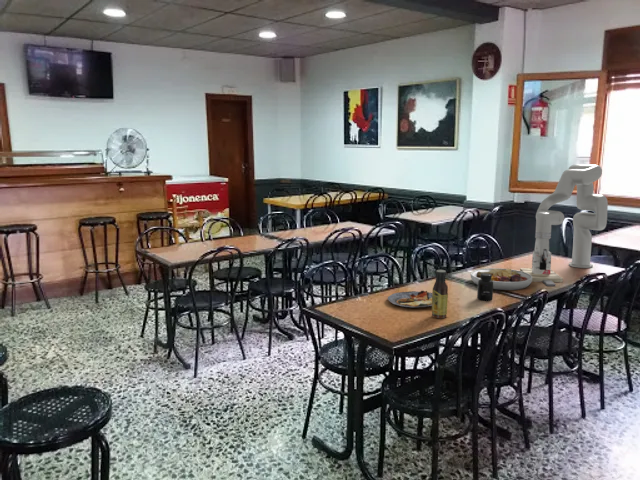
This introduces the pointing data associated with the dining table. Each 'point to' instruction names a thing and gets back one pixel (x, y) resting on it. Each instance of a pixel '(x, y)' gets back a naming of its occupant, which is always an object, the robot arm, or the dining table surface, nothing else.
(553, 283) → the grey mark
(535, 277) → the birch board
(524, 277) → the bowl
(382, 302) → the dining table surface
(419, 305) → the food plate
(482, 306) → the dining table surface
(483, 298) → the supplement bottle
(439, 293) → the sauce bottle
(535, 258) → the ink box
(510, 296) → the dining table surface
